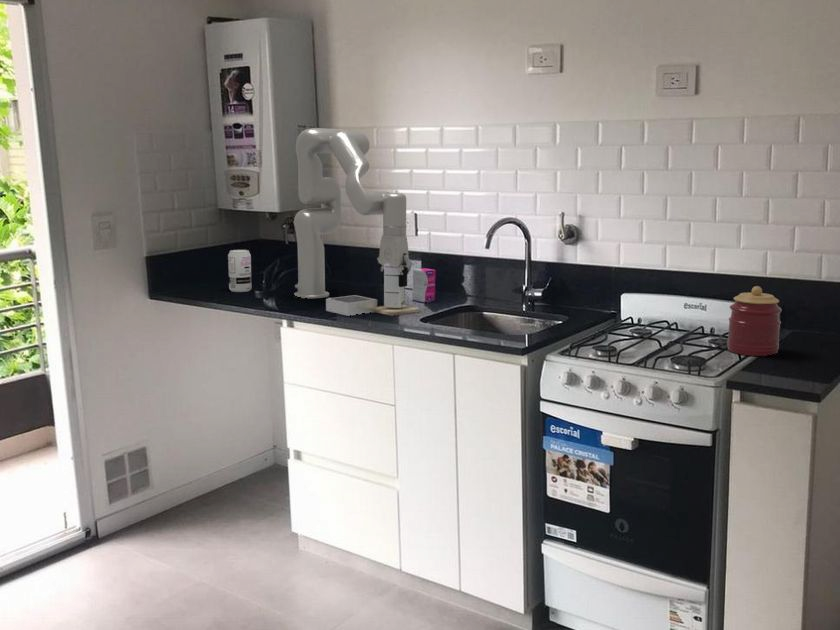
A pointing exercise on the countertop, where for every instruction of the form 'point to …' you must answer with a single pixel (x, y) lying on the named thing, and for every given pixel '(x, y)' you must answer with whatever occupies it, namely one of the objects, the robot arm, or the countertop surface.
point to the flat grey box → (351, 305)
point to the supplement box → (423, 285)
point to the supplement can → (239, 270)
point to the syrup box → (393, 288)
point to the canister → (754, 324)
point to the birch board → (396, 310)
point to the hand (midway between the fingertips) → (394, 284)
